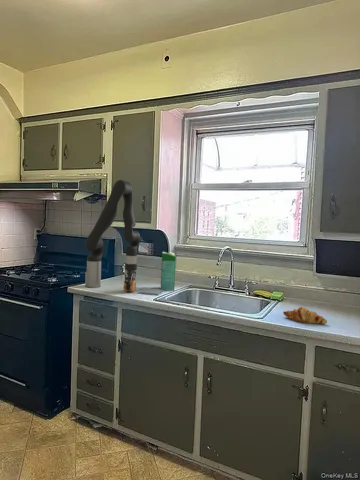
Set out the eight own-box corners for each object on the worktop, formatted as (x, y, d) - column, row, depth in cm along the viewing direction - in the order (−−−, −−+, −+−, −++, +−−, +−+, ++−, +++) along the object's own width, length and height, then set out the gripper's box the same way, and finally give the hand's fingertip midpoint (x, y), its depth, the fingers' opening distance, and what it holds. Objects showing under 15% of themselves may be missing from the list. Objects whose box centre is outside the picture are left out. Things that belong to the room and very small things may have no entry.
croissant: (326, 330, 176) (329, 314, 179) (325, 325, 168) (327, 309, 171) (283, 321, 186) (286, 307, 189) (280, 316, 178) (283, 301, 181)
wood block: (123, 290, 224) (124, 281, 223) (126, 288, 230) (127, 279, 229) (132, 291, 223) (133, 282, 222) (135, 289, 228) (136, 280, 228)
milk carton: (174, 290, 235) (175, 253, 233) (160, 290, 235) (162, 252, 233) (174, 287, 244) (175, 251, 242) (161, 287, 244) (162, 251, 242)
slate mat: (138, 293, 222) (138, 291, 222) (144, 289, 235) (144, 287, 235) (158, 295, 220) (158, 293, 220) (163, 291, 233) (163, 289, 233)
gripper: (129, 260, 232) (128, 286, 234) (121, 263, 218) (120, 290, 220) (140, 261, 231) (139, 287, 232) (132, 264, 217) (131, 291, 218)
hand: (129, 288), depth 226 cm, fingers closed on wood block, 6 cm apart
